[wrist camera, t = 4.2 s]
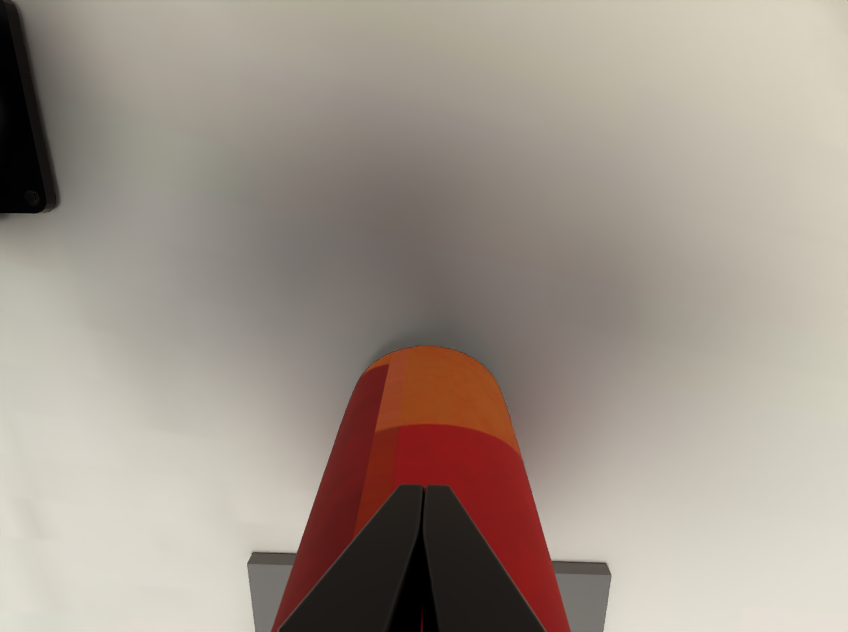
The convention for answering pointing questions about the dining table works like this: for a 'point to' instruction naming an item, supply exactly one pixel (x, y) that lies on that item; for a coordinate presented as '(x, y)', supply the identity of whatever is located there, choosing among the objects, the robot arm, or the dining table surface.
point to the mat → (576, 581)
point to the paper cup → (429, 470)
